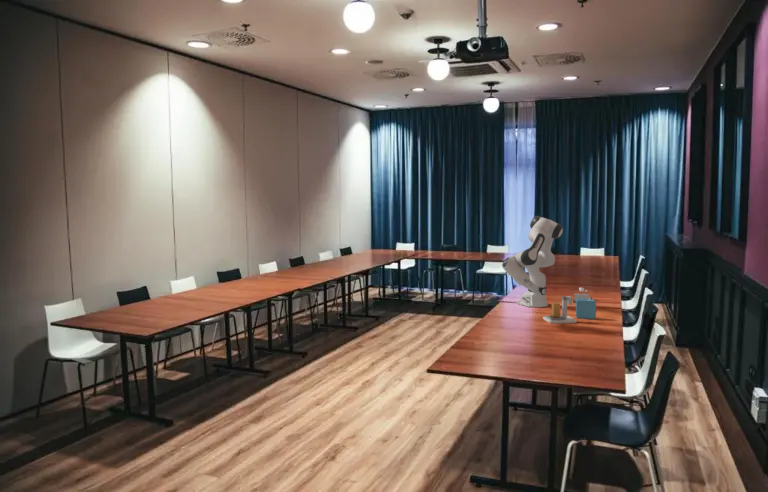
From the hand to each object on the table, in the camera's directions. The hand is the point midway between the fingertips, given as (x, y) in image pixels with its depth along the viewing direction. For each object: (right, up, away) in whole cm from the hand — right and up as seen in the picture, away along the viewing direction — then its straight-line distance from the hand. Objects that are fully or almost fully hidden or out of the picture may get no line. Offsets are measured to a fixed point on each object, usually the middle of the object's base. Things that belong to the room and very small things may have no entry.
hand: (537, 293), depth 354 cm
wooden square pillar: (+12, -16, +2) cm, 20 cm away
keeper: (+14, -18, +3) cm, 23 cm away
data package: (+34, -17, +10) cm, 39 cm away
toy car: (+52, -12, +65) cm, 84 cm away
